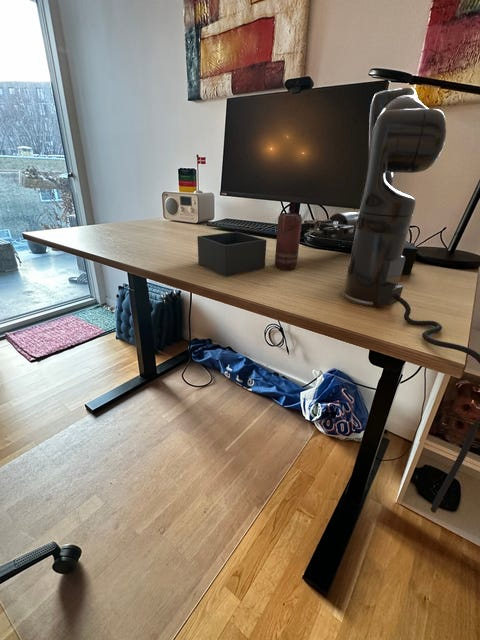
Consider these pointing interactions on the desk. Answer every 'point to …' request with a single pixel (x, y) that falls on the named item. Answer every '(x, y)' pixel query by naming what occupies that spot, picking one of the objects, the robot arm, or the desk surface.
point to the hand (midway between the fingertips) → (310, 230)
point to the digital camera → (409, 257)
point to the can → (287, 240)
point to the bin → (231, 252)
